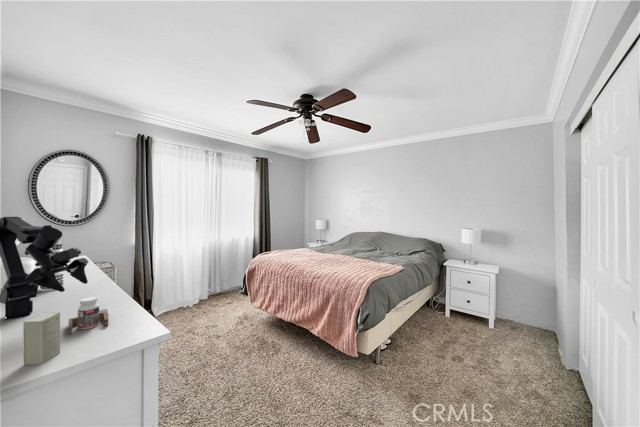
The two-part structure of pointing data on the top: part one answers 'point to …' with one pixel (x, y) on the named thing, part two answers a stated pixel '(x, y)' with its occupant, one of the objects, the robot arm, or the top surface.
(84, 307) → the pill bottle
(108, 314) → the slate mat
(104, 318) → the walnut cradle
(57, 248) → the decorative candle
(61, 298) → the top surface
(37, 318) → the skincare box
